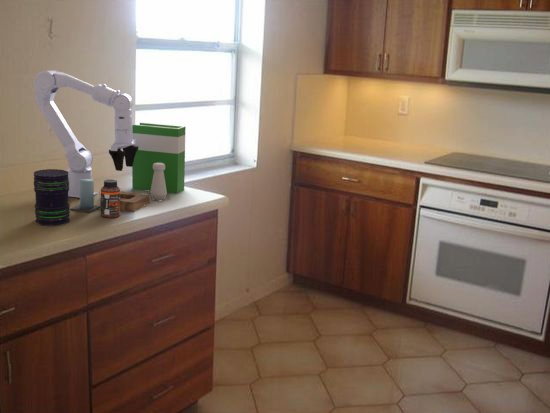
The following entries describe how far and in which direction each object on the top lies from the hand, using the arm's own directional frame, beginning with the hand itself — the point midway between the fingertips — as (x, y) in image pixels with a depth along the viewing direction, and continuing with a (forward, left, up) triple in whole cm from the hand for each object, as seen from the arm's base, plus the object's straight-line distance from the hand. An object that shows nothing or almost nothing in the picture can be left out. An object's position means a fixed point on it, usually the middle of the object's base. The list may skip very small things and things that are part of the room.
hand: (124, 168), depth 214 cm
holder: (+5, -9, -10) cm, 15 cm away
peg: (-3, -19, -10) cm, 22 cm away
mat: (-4, -19, -10) cm, 22 cm away
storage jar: (-5, -35, -11) cm, 37 cm away
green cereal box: (+5, +17, -11) cm, 20 cm away
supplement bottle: (+7, -22, -11) cm, 26 cm away
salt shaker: (+12, +3, -11) cm, 16 cm away
